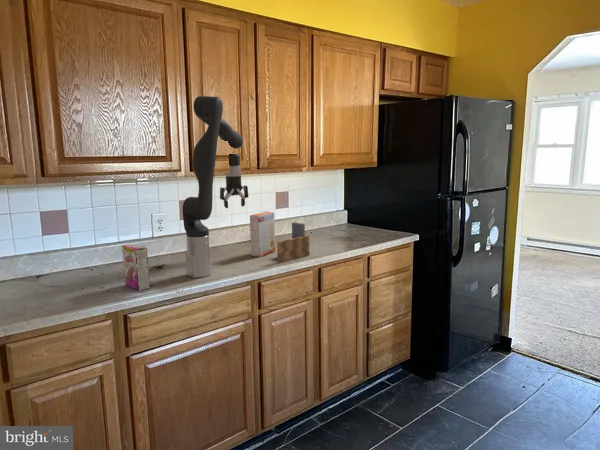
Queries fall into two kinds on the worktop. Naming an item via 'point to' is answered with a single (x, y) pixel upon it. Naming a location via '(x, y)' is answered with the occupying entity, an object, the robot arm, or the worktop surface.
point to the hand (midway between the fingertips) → (234, 207)
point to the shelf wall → (293, 248)
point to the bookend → (298, 230)
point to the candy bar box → (136, 266)
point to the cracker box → (262, 233)
